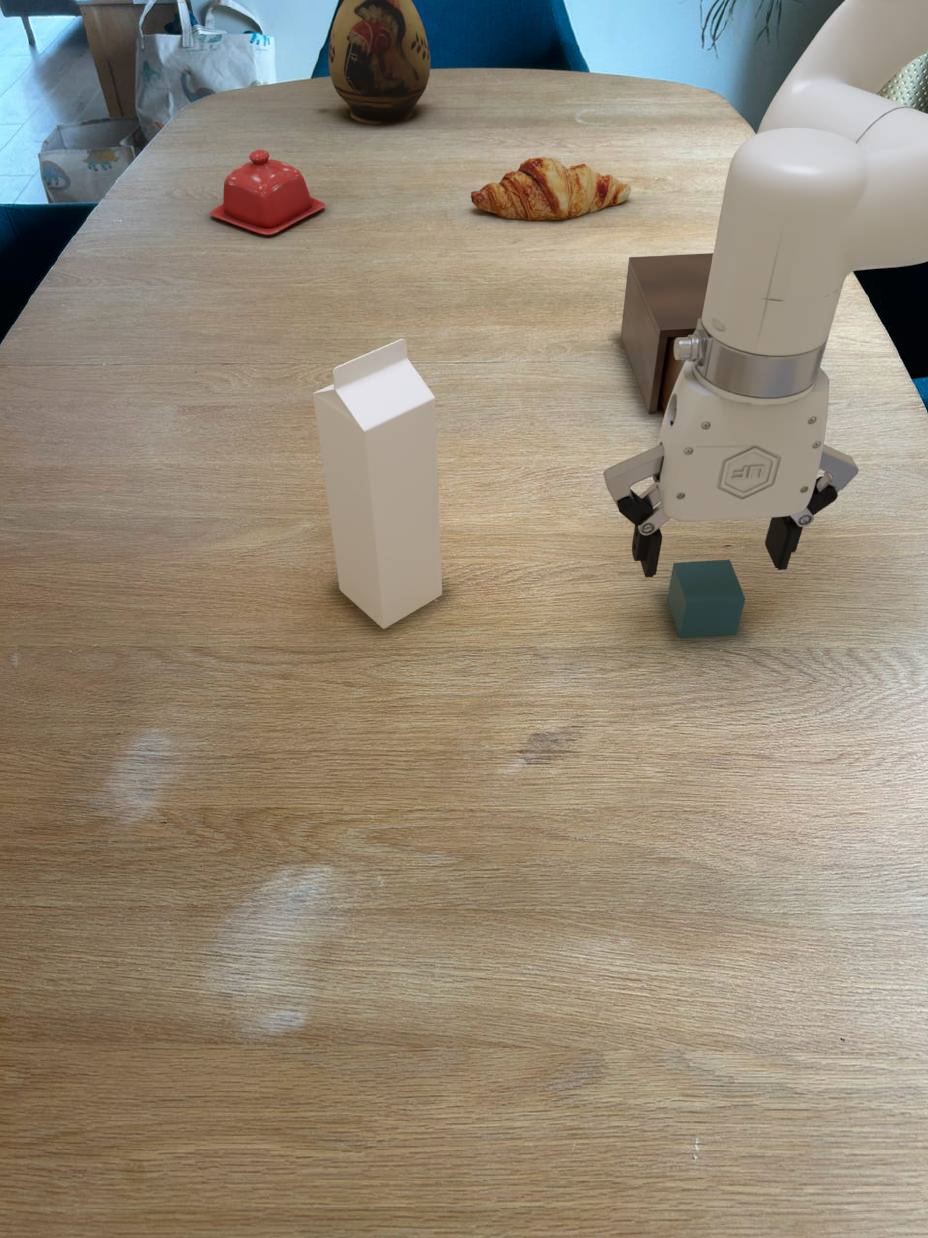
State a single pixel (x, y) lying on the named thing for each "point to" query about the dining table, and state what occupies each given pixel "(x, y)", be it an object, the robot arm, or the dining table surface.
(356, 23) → the ceramic jug
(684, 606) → the block
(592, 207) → the croissant
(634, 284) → the cabinet
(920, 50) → the robot arm
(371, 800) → the dining table surface
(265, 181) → the butter dish
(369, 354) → the milk
